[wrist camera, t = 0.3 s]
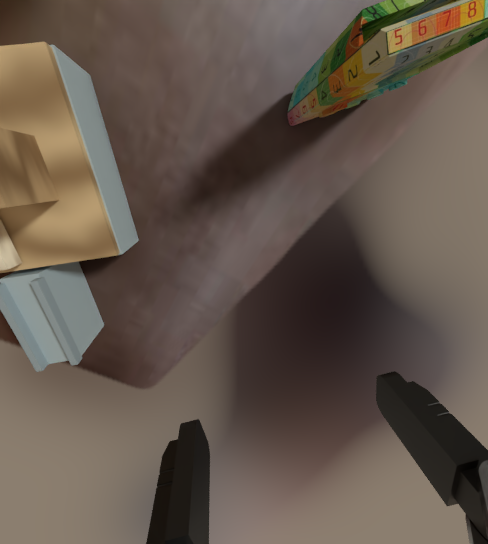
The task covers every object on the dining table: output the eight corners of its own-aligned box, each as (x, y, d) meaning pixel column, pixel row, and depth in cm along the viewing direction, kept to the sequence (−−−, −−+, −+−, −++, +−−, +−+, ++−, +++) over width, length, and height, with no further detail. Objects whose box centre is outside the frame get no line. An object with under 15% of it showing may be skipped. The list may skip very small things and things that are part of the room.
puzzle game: (291, 132, 33) (389, 73, 14) (282, 92, 31) (381, -33, 13) (372, 102, 33) (578, 3, 14) (368, 60, 31) (596, -113, 13)
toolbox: (-38, 88, 28) (-150, 48, 19) (89, 75, 28) (36, 30, 20) (74, 330, 40) (36, 371, 31) (160, 315, 41) (146, 352, 32)
